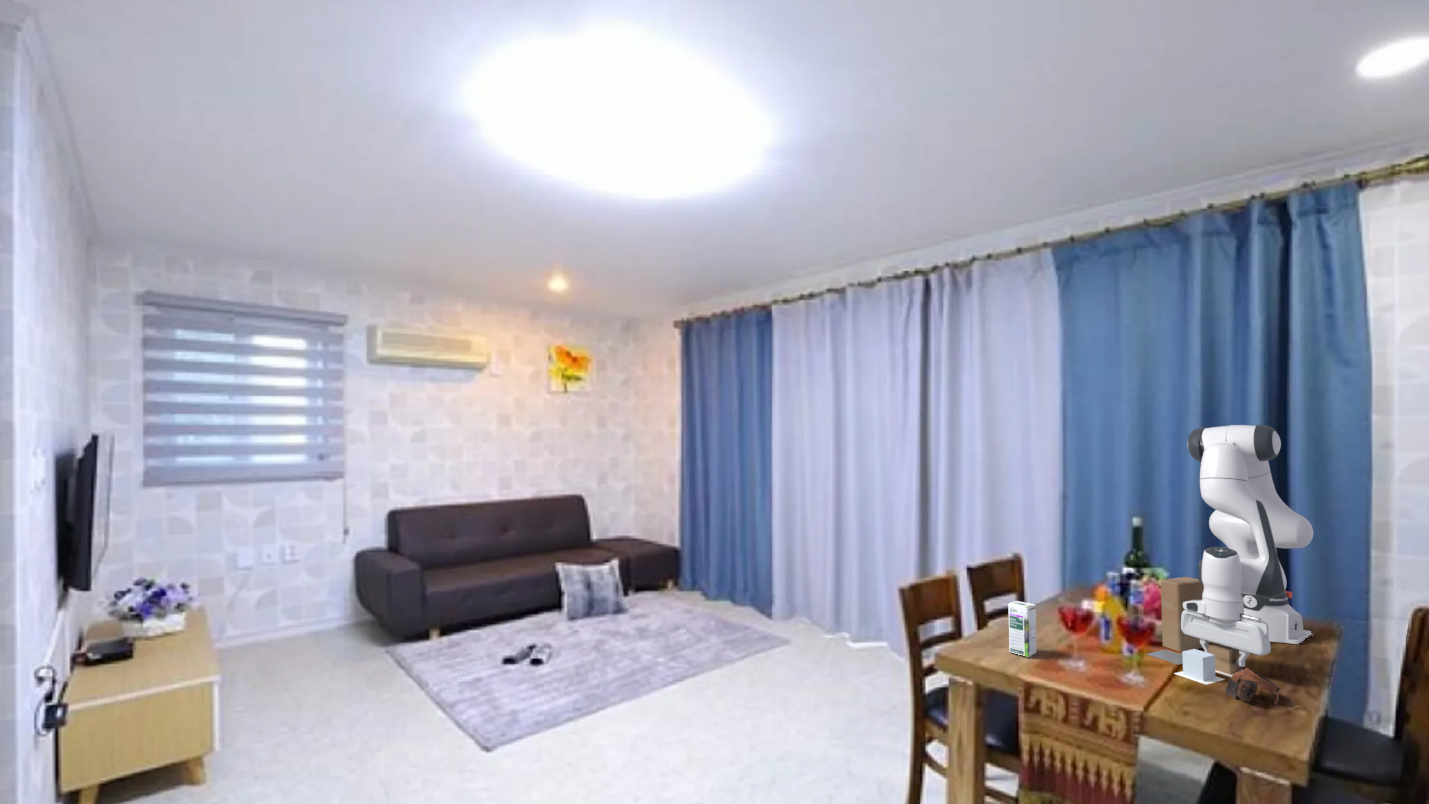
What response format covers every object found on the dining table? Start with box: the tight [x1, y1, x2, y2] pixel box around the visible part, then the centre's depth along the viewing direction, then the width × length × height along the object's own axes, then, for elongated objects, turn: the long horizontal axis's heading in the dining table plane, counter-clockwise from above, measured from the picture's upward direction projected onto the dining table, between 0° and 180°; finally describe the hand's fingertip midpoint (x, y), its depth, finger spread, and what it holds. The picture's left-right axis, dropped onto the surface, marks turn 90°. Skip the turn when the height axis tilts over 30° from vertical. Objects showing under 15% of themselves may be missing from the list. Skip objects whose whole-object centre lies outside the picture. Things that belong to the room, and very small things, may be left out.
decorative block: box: [1160, 576, 1204, 652], centre depth 194 cm, size 11×6×20 cm, turn 107°
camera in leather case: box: [1224, 667, 1281, 706], centre depth 157 cm, size 12×10×8 cm
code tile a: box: [1215, 669, 1245, 678], centre depth 175 cm, size 8×8×1 cm
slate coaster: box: [1146, 649, 1183, 666], centre depth 185 cm, size 9×9×1 cm
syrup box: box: [1007, 600, 1038, 658], centre depth 190 cm, size 6×6×14 cm
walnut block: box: [1209, 643, 1242, 674], centre depth 175 cm, size 5×5×6 cm
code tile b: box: [1173, 670, 1226, 686], centre depth 171 cm, size 8×8×1 cm
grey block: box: [1181, 649, 1217, 681], centre depth 171 cm, size 5×5×6 cm
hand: (1224, 661), depth 175 cm, fingers open, 6 cm apart
